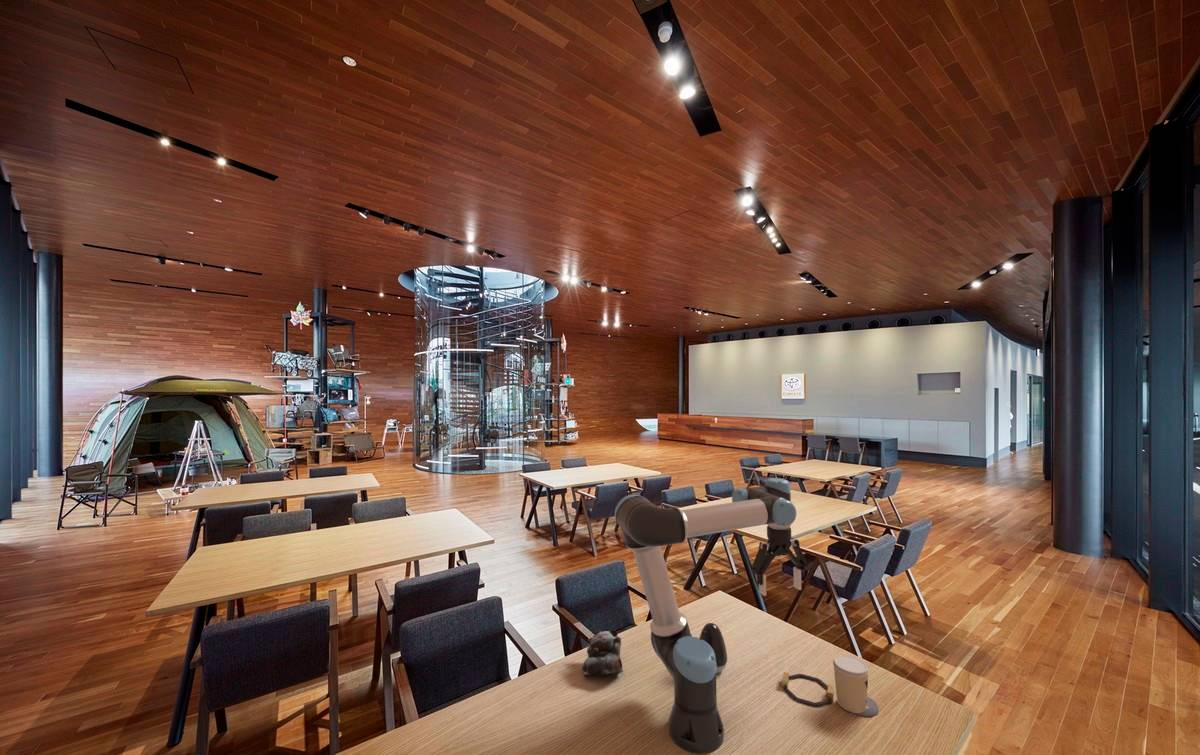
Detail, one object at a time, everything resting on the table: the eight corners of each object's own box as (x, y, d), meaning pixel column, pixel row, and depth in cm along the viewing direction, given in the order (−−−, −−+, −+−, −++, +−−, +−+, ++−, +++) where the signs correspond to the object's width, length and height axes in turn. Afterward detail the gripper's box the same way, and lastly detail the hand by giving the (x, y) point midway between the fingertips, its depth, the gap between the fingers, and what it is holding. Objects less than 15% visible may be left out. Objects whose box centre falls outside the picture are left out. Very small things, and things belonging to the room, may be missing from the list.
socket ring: (805, 710, 135) (804, 701, 136) (774, 681, 149) (774, 673, 149) (843, 700, 139) (843, 692, 139) (810, 672, 153) (809, 665, 153)
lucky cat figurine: (574, 675, 153) (576, 628, 160) (597, 674, 161) (598, 629, 168) (608, 678, 145) (608, 628, 152) (631, 677, 153) (630, 629, 160)
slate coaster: (859, 720, 131) (859, 717, 131) (832, 697, 141) (832, 695, 141) (886, 712, 134) (886, 710, 134) (858, 690, 144) (858, 688, 144)
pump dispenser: (690, 668, 156) (689, 623, 157) (708, 656, 163) (707, 613, 163) (715, 682, 149) (715, 635, 149) (733, 669, 156) (732, 624, 156)
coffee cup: (875, 716, 132) (874, 674, 132) (842, 714, 133) (841, 672, 133) (860, 694, 141) (859, 655, 141) (828, 693, 142) (827, 654, 142)
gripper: (753, 533, 144) (754, 601, 143) (818, 525, 151) (819, 590, 150) (739, 526, 151) (740, 591, 150) (802, 519, 158) (803, 581, 157)
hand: (780, 591), depth 150 cm, fingers open, 13 cm apart
